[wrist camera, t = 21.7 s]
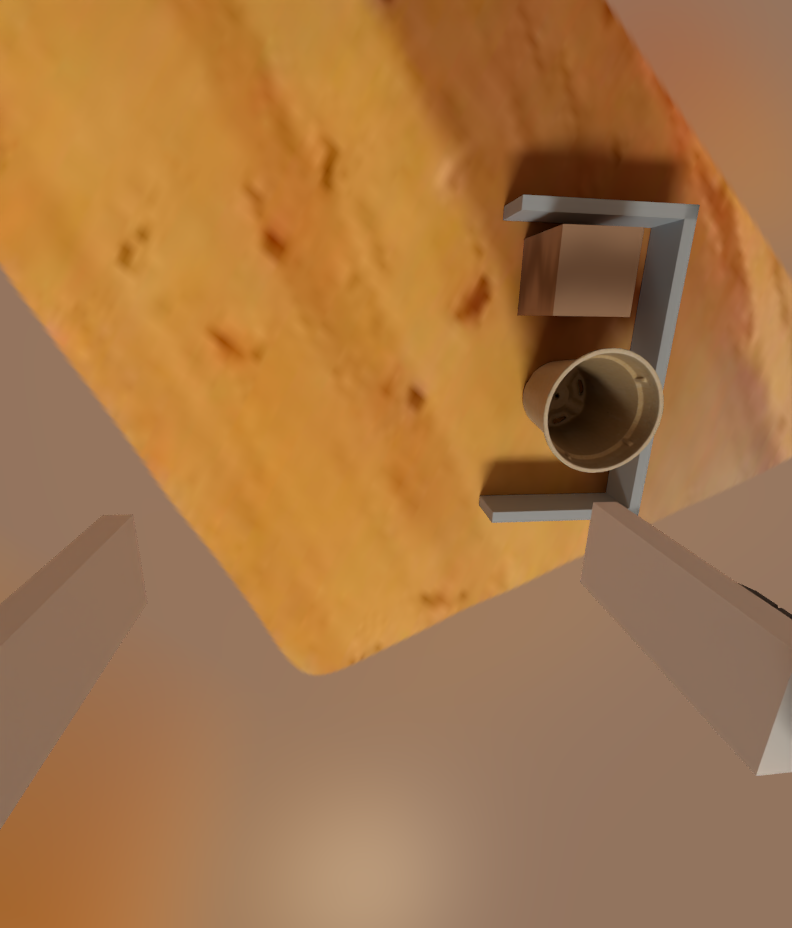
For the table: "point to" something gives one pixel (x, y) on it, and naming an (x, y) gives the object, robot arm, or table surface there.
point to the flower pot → (596, 408)
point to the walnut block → (580, 271)
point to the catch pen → (649, 337)
